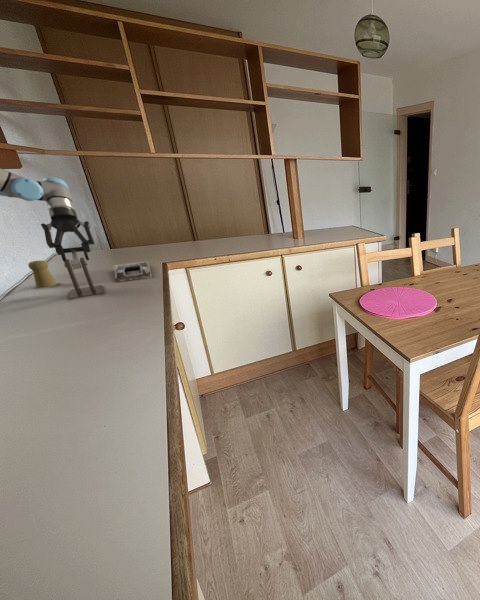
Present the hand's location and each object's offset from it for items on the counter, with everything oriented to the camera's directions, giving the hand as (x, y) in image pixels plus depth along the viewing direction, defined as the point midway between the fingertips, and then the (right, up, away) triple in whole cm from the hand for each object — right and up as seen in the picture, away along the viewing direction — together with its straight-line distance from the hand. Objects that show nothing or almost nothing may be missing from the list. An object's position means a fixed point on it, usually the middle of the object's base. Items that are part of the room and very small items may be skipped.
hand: (76, 259), depth 121 cm
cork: (-18, -11, +7) cm, 22 cm away
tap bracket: (+4, -14, 0) cm, 14 cm away
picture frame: (+2, -4, +24) cm, 25 cm away
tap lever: (+1, 0, -1) cm, 1 cm away
